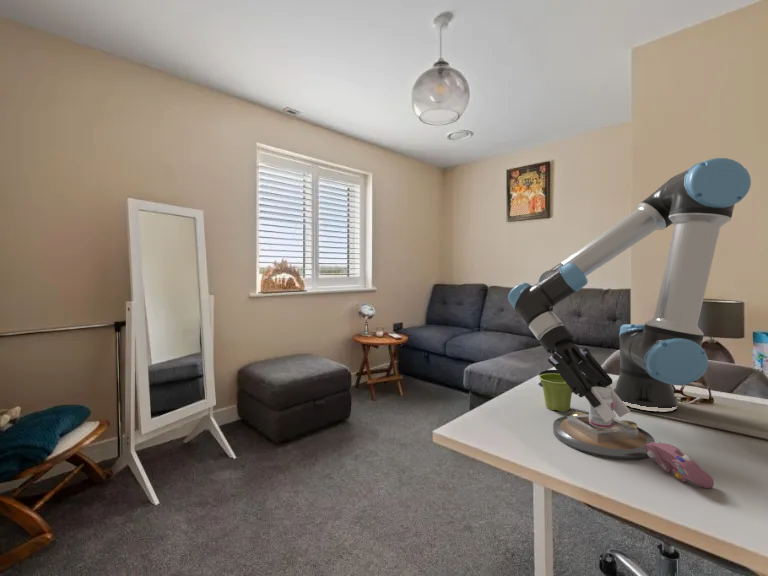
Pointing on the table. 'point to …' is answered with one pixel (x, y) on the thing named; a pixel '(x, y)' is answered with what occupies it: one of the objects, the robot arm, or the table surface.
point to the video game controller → (678, 463)
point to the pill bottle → (594, 415)
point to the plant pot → (556, 392)
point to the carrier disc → (603, 437)
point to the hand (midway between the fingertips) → (618, 416)
